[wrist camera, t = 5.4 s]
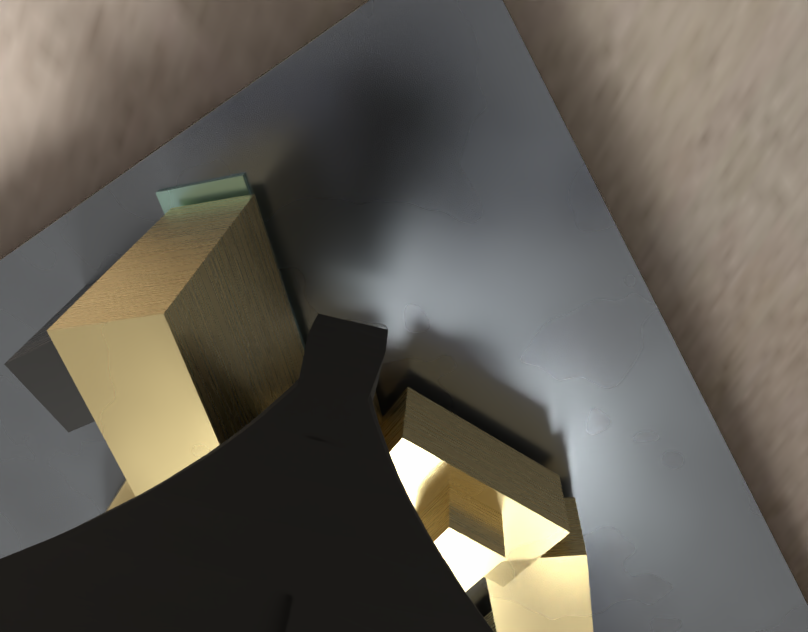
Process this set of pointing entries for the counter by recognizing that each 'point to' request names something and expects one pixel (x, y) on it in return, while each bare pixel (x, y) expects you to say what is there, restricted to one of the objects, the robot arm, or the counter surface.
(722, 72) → the counter surface
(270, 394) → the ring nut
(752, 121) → the counter surface
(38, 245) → the dark gray base plate
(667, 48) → the counter surface
